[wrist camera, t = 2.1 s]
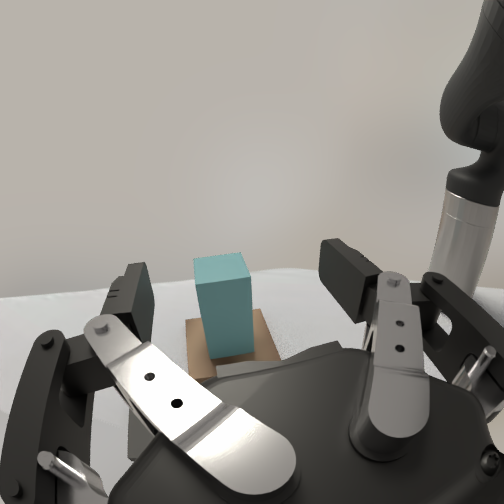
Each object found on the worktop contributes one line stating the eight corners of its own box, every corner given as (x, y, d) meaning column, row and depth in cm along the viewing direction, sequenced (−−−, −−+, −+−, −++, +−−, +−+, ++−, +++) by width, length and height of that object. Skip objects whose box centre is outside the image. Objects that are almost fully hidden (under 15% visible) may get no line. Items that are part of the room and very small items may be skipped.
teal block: (245, 323, 33) (240, 252, 29) (254, 351, 29) (250, 276, 24) (205, 329, 32) (193, 258, 28) (210, 359, 28) (195, 284, 24)
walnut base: (260, 314, 36) (259, 283, 34) (282, 369, 28) (284, 337, 25) (186, 325, 35) (179, 295, 32) (191, 384, 26) (181, 354, 24)
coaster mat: (205, 390, 25) (204, 385, 25) (217, 457, 18) (215, 453, 18) (133, 396, 24) (130, 391, 23) (131, 461, 17) (127, 457, 16)
